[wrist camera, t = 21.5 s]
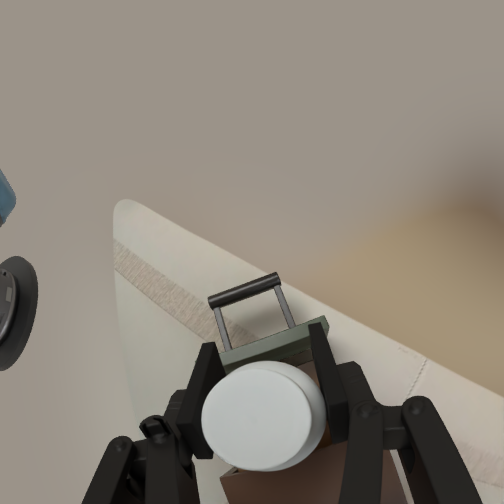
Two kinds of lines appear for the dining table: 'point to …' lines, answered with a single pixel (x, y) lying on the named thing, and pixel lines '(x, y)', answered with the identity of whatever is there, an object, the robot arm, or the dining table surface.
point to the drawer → (270, 346)
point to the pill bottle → (264, 416)
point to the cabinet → (306, 481)
